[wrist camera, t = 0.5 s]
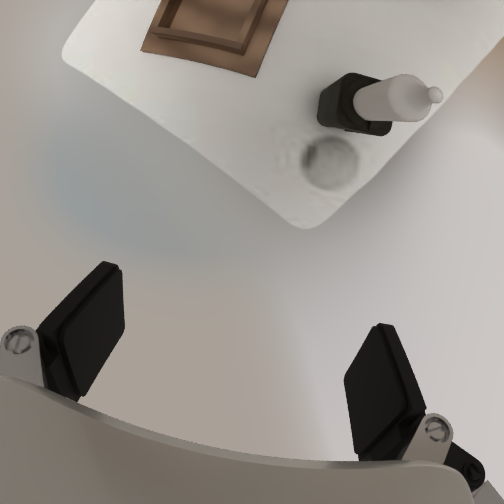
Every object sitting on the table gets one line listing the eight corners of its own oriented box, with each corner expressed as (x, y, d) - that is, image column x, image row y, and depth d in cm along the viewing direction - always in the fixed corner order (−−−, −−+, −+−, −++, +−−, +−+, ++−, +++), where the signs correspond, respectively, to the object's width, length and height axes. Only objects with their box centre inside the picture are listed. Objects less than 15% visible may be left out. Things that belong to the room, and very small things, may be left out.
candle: (315, 124, 34) (384, 129, 11) (321, 86, 32) (396, 29, 9) (354, 133, 34) (470, 159, 11) (360, 95, 32) (481, 69, 9)
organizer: (185, -39, 24) (176, -53, 20) (297, -19, 25) (298, -33, 21) (143, 51, 31) (128, 45, 27) (255, 77, 32) (252, 71, 28)
